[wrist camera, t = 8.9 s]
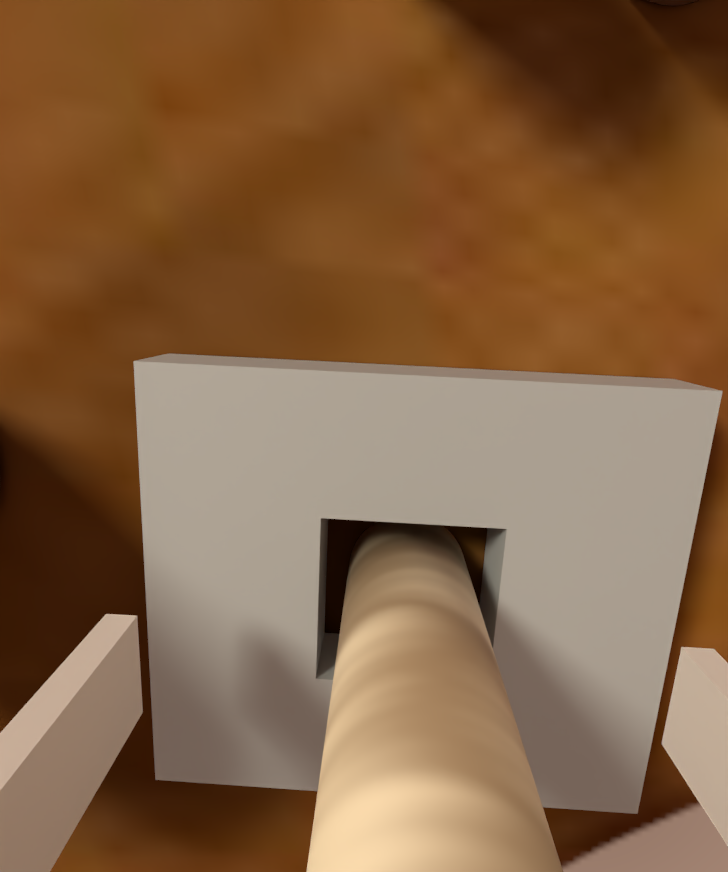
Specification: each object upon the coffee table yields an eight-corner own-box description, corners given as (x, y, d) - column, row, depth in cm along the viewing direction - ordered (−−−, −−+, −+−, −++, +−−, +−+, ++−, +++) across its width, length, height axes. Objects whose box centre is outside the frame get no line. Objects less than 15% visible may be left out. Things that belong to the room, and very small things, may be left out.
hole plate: (182, 724, 21) (155, 779, 18) (168, 353, 17) (133, 361, 15) (607, 753, 20) (637, 813, 18) (674, 379, 17) (722, 390, 15)
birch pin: (346, 616, 19) (290, 1083, 8) (351, 511, 18) (294, 861, 7) (459, 623, 19) (573, 1106, 8) (469, 517, 18) (617, 884, 7)
